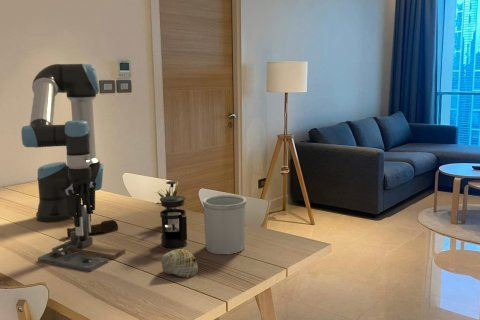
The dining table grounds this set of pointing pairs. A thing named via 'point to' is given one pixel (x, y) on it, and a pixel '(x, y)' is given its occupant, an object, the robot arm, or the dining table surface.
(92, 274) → the dining table surface
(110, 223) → the hand tool
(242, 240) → the utensil holder
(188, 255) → the seashell
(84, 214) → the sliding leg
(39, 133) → the robot arm
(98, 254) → the grey lever handle base
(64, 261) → the bolt plate
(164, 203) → the french press
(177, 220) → the house plant
